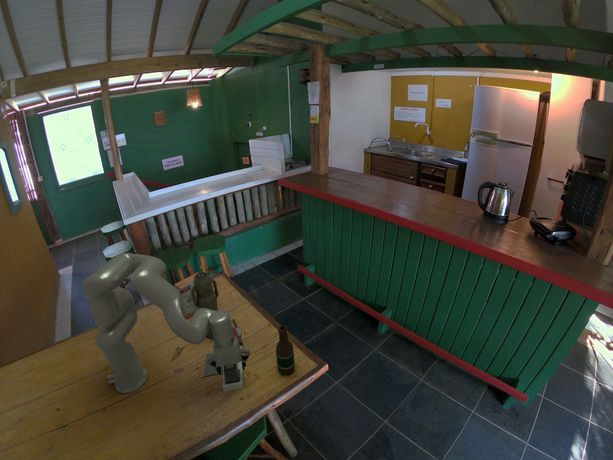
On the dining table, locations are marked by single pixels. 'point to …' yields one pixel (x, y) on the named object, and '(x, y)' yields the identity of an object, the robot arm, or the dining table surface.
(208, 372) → the mat
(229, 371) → the block
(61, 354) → the dining table surface
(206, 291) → the thermos
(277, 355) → the beer bottle
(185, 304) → the cracker box
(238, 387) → the power strip
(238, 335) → the walkie-talkie
